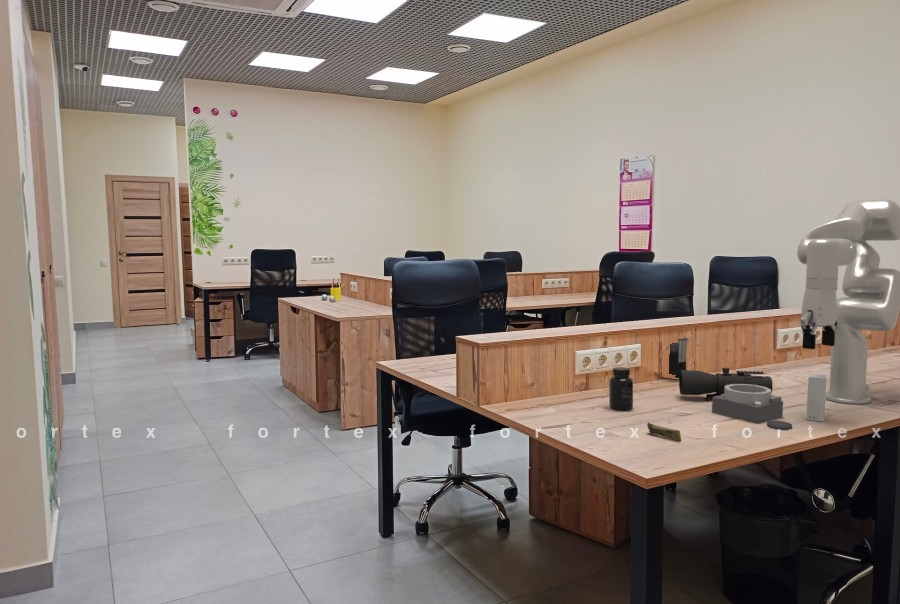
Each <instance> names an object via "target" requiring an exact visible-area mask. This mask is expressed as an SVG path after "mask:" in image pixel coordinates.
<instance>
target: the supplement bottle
mask: <svg viewBox="0 0 900 604" xmlns="http://www.w3.org/2000/svg"><path fill="white" fill-rule="evenodd" d="M612 375H613V376H611V377H610V379H609V384H608V385H609V387H608V388H609V393H608V395H609V398H608V399H609V401H608V402H609V403H608V405H609V408H610V409H611V410H613V411H617V412H618V411H621V412H625V411H631V410H632V409H633V408H634V380H633V379H632V378H631V377H630V375H631V374H630V368H629V367H622V366H617V367H613V368H612Z"/></svg>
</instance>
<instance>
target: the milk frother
mask: <svg viewBox="0 0 900 604" xmlns="http://www.w3.org/2000/svg"><path fill="white" fill-rule="evenodd" d="M688 339H689V338H683V339H678V340H679V341H678V342H679V343H672V344H670V354H669V374H672V375H676V376H675V377H676V378H679V374H680V370H687V357H686V353H687V352H688V351H687V350H688ZM686 347H687V348H686Z"/></svg>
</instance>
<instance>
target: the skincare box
mask: <svg viewBox="0 0 900 604" xmlns="http://www.w3.org/2000/svg"><path fill="white" fill-rule="evenodd" d="M826 392H827V375H826V374H820V373H819V374H818V373H809V376H808V381H807V401H806V402H807V403H806V404H807V405H806V420H807V421H817V422H824V420H825V419H824V418H825V413H826Z"/></svg>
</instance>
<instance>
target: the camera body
mask: <svg viewBox="0 0 900 604" xmlns="http://www.w3.org/2000/svg"><path fill="white" fill-rule="evenodd" d="M783 412H784V401H783V400H782V396H779V395H774V394H773V395H772V393H771V389H769V388H766V387H763V386H757V385H749V384H731V385H726V386H725V388H724V394H721V395H720V396H715V397H712V401H711V413H712V414H713V413H714V414H716V415H717V414H718V415H720V416H725V417H730V418H734V419H737V418H738V420H741V419H742V420H741V421H745V422H749V423H753V424H760V423H761V424H762V423H764V422H768V421H773V420H775V419H779V418H783Z"/></svg>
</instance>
